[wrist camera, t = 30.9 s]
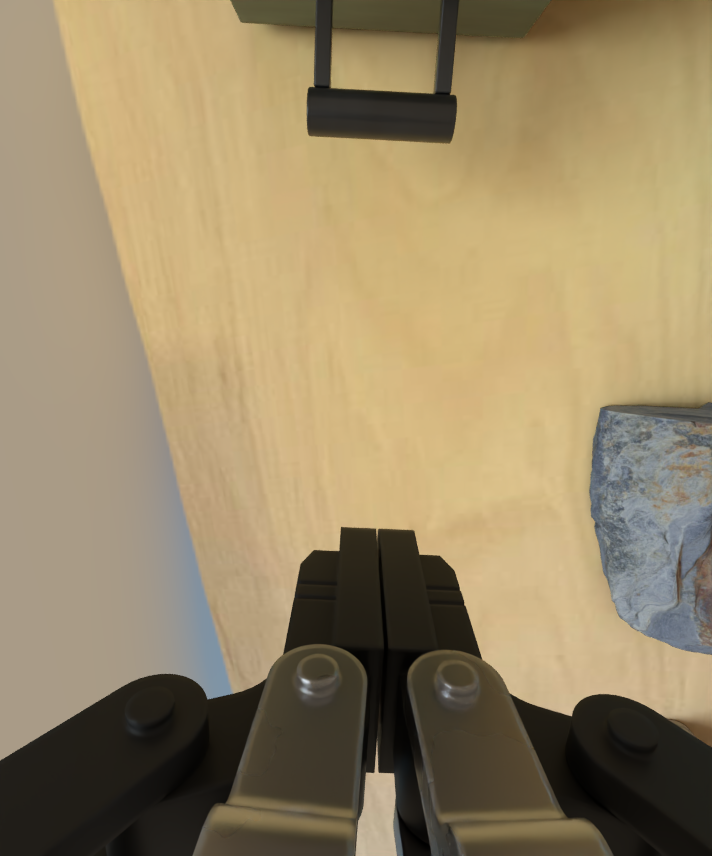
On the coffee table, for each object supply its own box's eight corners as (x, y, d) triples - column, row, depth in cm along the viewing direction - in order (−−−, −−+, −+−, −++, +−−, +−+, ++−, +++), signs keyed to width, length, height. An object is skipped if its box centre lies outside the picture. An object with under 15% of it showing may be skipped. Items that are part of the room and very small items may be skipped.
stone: (577, 426, 27) (817, 394, 24) (573, 398, 32) (775, 368, 28) (617, 686, 32) (823, 695, 28) (609, 631, 36) (786, 633, 32)
